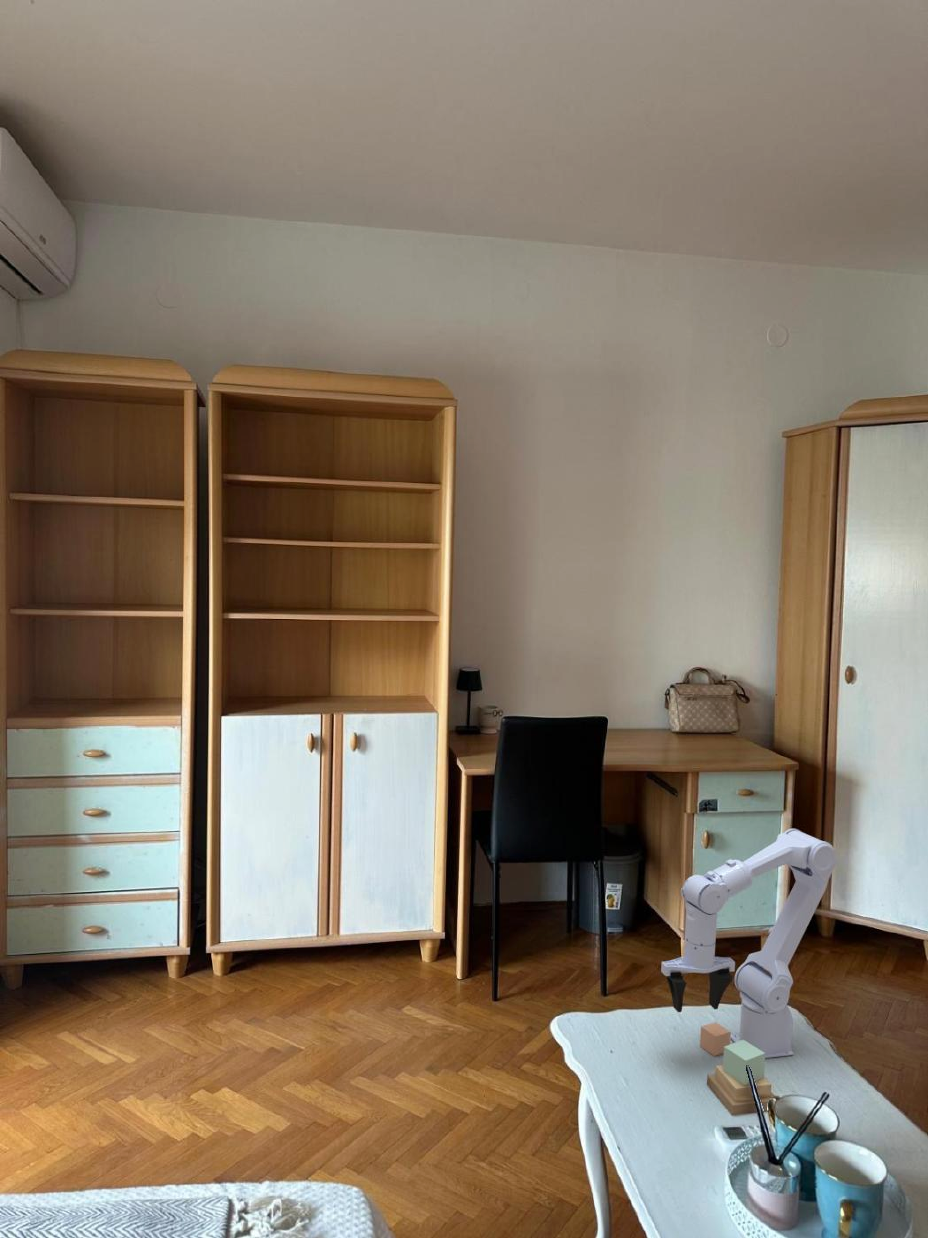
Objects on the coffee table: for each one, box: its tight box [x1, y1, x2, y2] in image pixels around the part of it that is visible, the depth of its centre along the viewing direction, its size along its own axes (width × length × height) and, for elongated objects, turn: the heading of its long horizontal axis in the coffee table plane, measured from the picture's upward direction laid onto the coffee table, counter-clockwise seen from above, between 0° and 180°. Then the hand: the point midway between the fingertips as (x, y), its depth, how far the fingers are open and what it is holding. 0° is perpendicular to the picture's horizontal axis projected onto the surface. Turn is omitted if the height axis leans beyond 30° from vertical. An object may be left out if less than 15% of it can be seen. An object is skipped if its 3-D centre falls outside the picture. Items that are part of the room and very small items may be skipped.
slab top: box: [714, 1064, 772, 1102], centre depth 156 cm, size 7×7×2 cm
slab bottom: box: [706, 1073, 776, 1116], centre depth 156 cm, size 9×9×2 cm
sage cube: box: [722, 1040, 766, 1086], centre depth 155 cm, size 5×5×5 cm
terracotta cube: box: [699, 1021, 731, 1057], centre depth 171 cm, size 4×4×4 cm
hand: (695, 1008), depth 166 cm, fingers open, 7 cm apart
